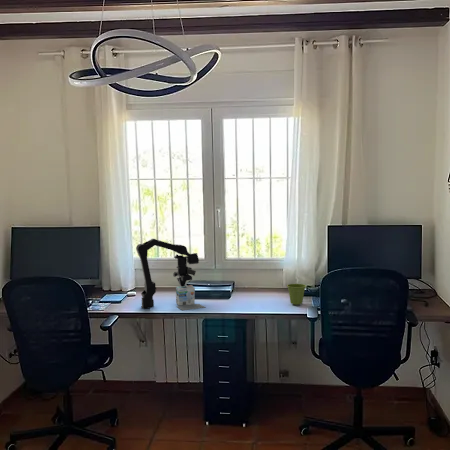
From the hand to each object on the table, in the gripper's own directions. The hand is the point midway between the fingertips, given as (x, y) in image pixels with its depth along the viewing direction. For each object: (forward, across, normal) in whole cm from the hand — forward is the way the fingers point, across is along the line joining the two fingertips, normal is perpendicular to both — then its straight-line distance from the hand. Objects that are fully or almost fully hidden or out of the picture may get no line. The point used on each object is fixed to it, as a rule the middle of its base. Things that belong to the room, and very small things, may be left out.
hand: (183, 289), depth 329 cm
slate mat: (+8, -14, 0) cm, 16 cm away
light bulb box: (+8, -4, 0) cm, 9 cm away
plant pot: (+9, -38, -60) cm, 72 cm away
